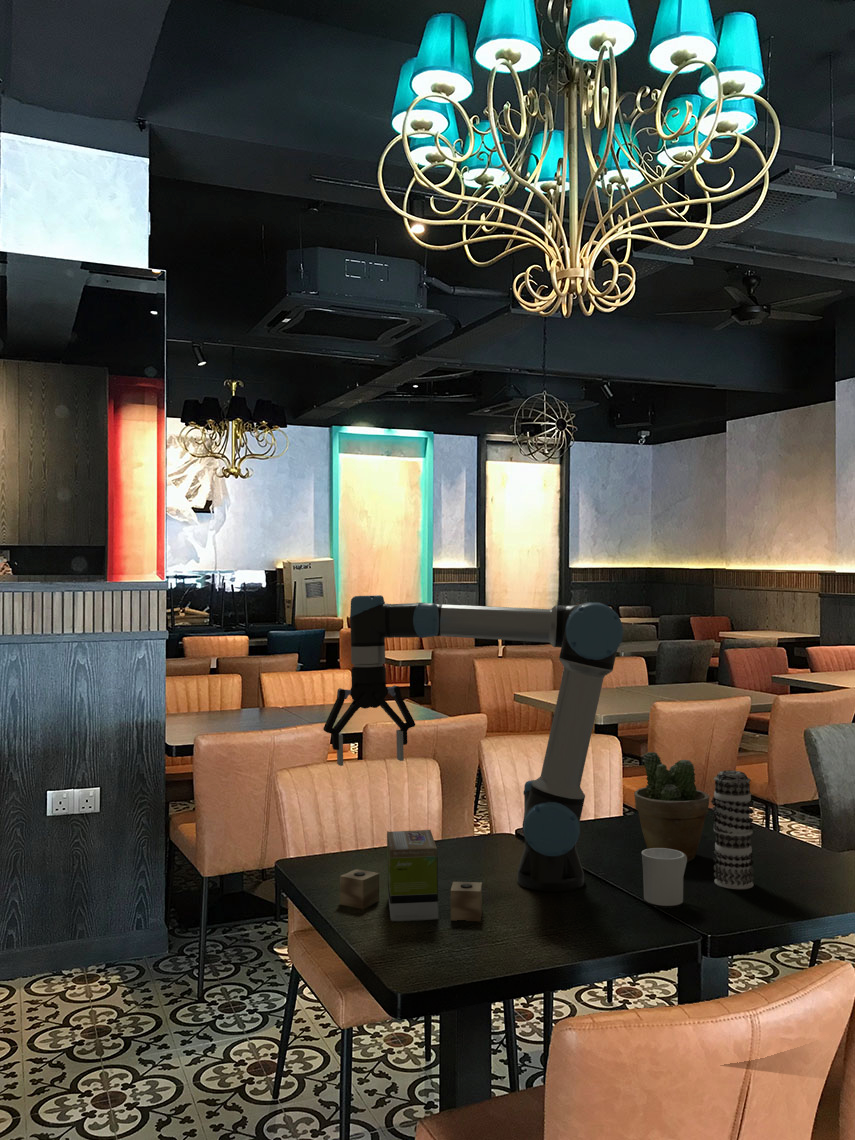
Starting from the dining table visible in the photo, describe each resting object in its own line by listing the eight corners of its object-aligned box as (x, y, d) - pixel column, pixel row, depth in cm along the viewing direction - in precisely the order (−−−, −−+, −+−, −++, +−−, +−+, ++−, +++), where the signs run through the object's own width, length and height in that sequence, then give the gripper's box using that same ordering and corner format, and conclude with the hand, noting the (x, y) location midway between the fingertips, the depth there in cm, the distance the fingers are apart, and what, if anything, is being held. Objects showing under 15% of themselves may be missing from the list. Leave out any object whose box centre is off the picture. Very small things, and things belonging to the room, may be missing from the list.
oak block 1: (379, 901, 201) (379, 872, 201) (363, 909, 196) (363, 879, 196) (356, 896, 204) (356, 868, 204) (339, 904, 199) (339, 875, 199)
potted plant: (719, 852, 238) (718, 753, 239) (698, 870, 223) (696, 764, 223) (649, 842, 248) (648, 747, 249) (624, 859, 232) (622, 758, 233)
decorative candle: (710, 887, 210) (708, 774, 210) (714, 875, 218) (712, 767, 219) (753, 891, 206) (752, 777, 207) (756, 880, 215) (754, 770, 216)
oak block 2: (482, 911, 194) (481, 881, 194) (480, 921, 188) (480, 890, 188) (453, 910, 195) (453, 880, 195) (450, 920, 189) (450, 889, 189)
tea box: (386, 898, 203) (386, 829, 203) (432, 897, 204) (432, 828, 204) (389, 922, 188) (389, 847, 188) (439, 920, 189) (439, 846, 189)
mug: (661, 911, 193) (660, 861, 194) (633, 899, 201) (632, 851, 202) (701, 903, 198) (700, 854, 199) (672, 892, 206) (671, 844, 207)
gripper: (417, 662, 214) (419, 755, 213) (309, 666, 206) (311, 764, 206) (427, 663, 207) (429, 760, 206) (315, 669, 199) (317, 769, 198)
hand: (370, 762), depth 206 cm, fingers open, 13 cm apart
